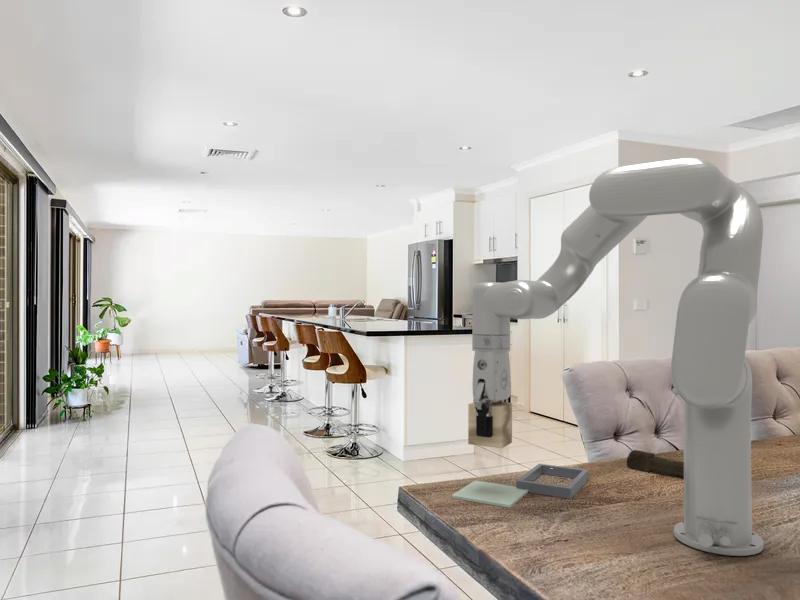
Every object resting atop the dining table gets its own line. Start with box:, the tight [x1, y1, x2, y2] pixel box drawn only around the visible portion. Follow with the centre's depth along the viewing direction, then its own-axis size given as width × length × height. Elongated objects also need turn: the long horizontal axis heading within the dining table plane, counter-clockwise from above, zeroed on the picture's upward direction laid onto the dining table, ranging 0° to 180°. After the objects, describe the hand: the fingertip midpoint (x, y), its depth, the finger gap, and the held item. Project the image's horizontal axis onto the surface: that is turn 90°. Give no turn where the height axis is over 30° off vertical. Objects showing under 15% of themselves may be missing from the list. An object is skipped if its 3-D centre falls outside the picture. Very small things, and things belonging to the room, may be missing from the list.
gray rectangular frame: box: [515, 463, 589, 500], centre depth 125 cm, size 16×11×2 cm
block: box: [467, 401, 513, 449], centre depth 119 cm, size 6×7×8 cm
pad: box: [451, 480, 528, 509], centre depth 118 cm, size 12×12×1 cm
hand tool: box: [626, 449, 684, 478], centre depth 133 cm, size 19×4×5 cm, turn 44°
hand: (490, 432), depth 119 cm, fingers closed on block, 6 cm apart
